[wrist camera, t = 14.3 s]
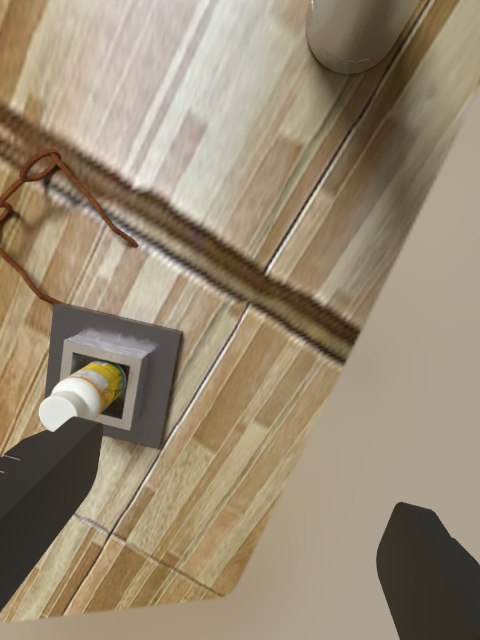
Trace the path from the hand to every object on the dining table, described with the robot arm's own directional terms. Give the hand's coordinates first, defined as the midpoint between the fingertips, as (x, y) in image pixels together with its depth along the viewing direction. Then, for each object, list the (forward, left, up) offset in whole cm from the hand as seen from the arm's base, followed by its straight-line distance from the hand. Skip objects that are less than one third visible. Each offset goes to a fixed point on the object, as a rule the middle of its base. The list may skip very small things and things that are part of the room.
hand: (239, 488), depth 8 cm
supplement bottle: (+13, -17, -29) cm, 36 cm away
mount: (+13, -17, -30) cm, 36 cm away
